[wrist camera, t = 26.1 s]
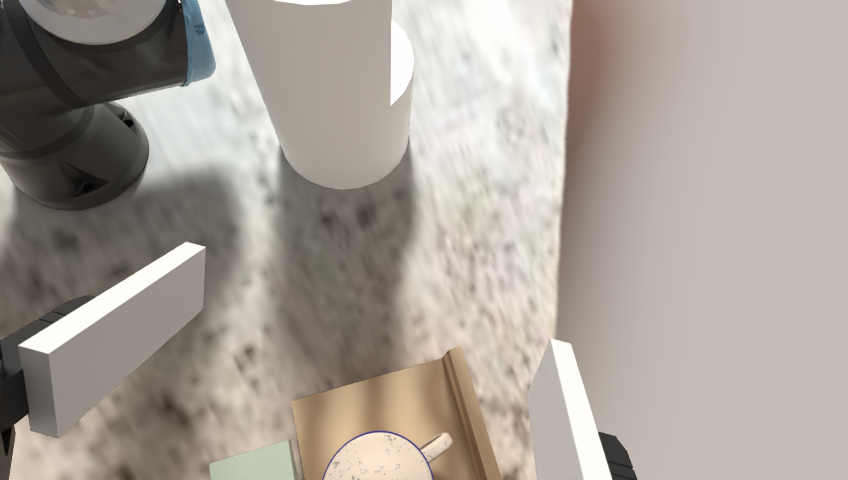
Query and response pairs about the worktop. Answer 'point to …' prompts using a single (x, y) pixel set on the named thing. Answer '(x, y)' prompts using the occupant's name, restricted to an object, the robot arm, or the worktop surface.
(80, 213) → the worktop surface
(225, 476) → the panel
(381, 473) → the teacup with lid
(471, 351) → the worktop surface
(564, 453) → the robot arm
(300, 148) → the cylinder
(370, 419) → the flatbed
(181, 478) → the worktop surface
